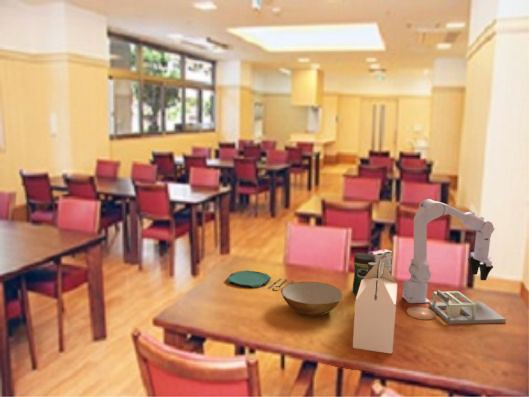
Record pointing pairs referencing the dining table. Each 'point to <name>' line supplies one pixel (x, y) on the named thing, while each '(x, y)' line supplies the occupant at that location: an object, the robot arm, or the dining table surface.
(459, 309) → the cream block
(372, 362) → the dining table surface
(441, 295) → the cream slatted rack
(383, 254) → the candy bar box
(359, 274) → the coffee jar
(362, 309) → the gable box
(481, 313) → the puzzle board
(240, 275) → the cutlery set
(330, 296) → the bowl
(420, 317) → the terracotta dish
